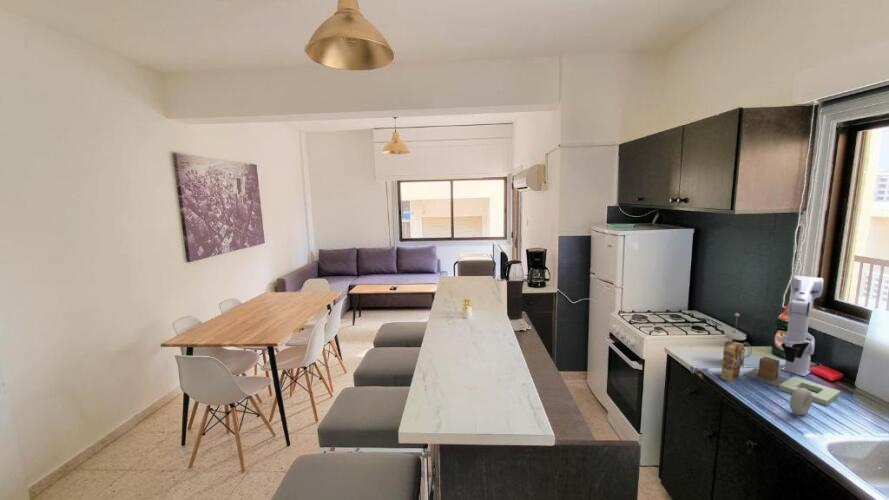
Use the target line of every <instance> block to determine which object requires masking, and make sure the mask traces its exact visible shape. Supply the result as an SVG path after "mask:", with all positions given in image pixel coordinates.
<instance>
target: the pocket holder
mask: <svg viewBox="0 0 889 500" xmlns="http://www.w3.org/2000/svg"><path fill="white" fill-rule="evenodd" d="M798 388H806V389H808V390H809V391H810V392H811V394H812V402H814V403H817V404H820V405H823V406H828V405H830V404H831V403H832V402H834V401H835V400H836V399H838V398H839V397H840V396H841V390H838V389H835V388H832V387H829V386H826V385H823V384H820V383H817V382H813V381H810V380H807V379H804V378H800V377H797V376H794V375H793V376H791V377H790V378H789V379H788V380H787V381H785V382H783V383H782V384H780V385H779V387H778V390H780V391H782V392H786V393H788V394H791V395H792V394H793V392H794V391H795V390H796V389H798Z"/></svg>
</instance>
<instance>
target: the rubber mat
mask: <svg viewBox="0 0 889 500" xmlns="http://www.w3.org/2000/svg"><path fill="white" fill-rule="evenodd" d="M758 372H759V367H758V368H757V367H755V368H753V369H751V370H749V371H747V372H745V373H744V374H743V376H745V377H747V378H750V379H753V380H755V381H758V382H762V383H765V384H768V385H771V386H774V387H777V388H779V385H780V384H782V383H783V382H785V381H787V380H788V379H790V378H789V377H786V376H783V375H780V374H778V378H777V379H775V380H773V381H771V380H768V379H765V378H762V377H759V376H758Z"/></svg>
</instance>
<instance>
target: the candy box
mask: <svg viewBox="0 0 889 500" xmlns="http://www.w3.org/2000/svg"><path fill="white" fill-rule="evenodd" d="M729 342H730V343H729V344H727V345H726V344H724V345H725V346H724V345H723V352H724V354H723V353H722V354H723V355H722V359H723V362H722V363H721V372H720V378H721V379H722V380H725V381H728V382H733V381H734V380H735V379H736V378H738V377H739V376H740V370H741V368H740V363H741V354H743V353H742V351H743V350H742V346H743V345H744V343H743V344H742V343H741V342H737V341H735V342H734V341H729Z"/></svg>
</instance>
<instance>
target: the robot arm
mask: <svg viewBox="0 0 889 500" xmlns="http://www.w3.org/2000/svg"><path fill="white" fill-rule="evenodd" d="M824 282H825V281H824V278H823V277H815V276H814V277H813V276H803V275H795V274H794V275H793V277H792V280H791V289H792V290H791V291H792V294H793V295H792V299H791V300H789V301H788V305H787V312H788V314H787V317H788V323H787V331H786V332H785V333H784V335H783V336H782V338H783V340H782V343H781V345H780V346H781V348H782V350H783V352H784V356H785V362H784V363H785V364H784V366H785V368H784V369H783V368H782V367H780V370H781V369H782V370H781V371H785V372H788V373H791V374H796V375H798V376H800V377H801V376H802V377H806V376H807V375H808V374H810V373H811V372H809V371H808V370H809V369H810V367H811V356H812V355H813V354H814V351H815V346H816V339H815V337H814V336H813V335H811V334H810V333H809V332H808V329H809V324H810V316H811V312H812V305H813V303H814V301H815V299H817V298H820V297H821V295H823V294H822V293H823V289H824Z"/></svg>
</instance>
